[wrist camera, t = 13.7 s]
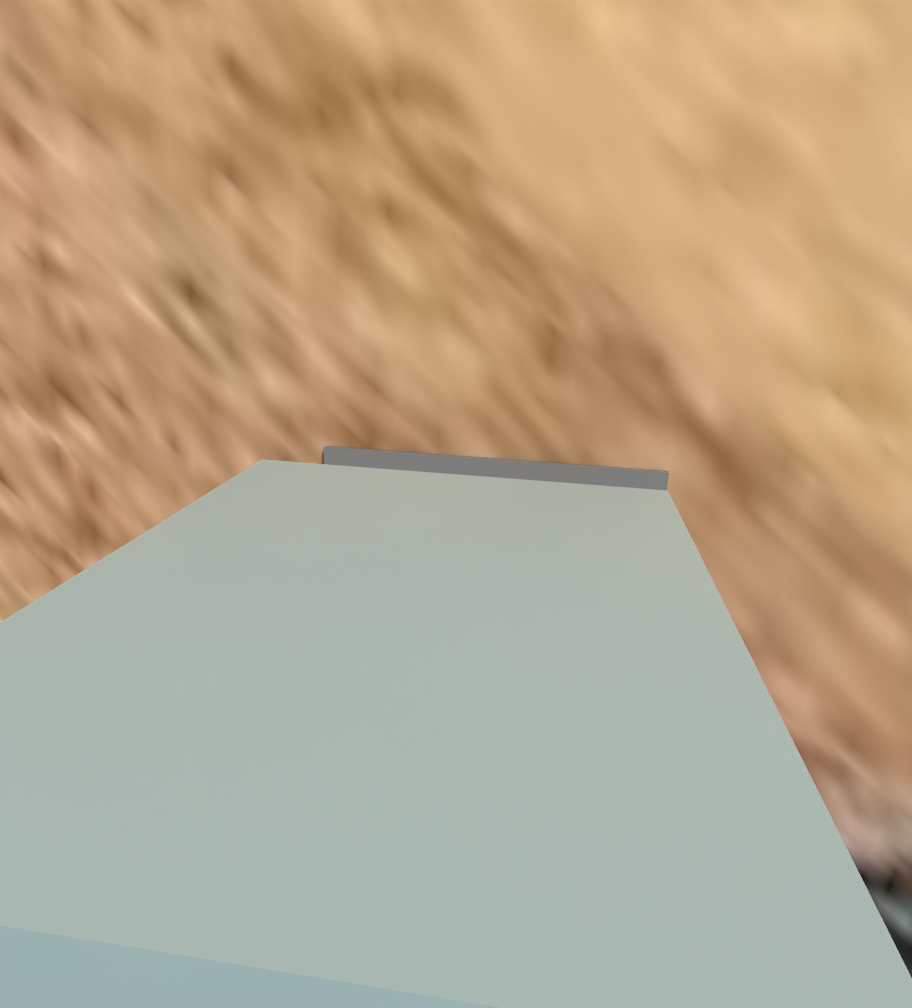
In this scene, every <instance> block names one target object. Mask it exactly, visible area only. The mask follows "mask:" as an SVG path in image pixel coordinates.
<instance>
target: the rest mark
mask: <svg viewBox="0 0 912 1008" xmlns="http://www.w3.org/2000/svg"><path fill="white" fill-rule="evenodd" d="M324 464H328V465H341V466H354V467H367V468H380V469H393V470H406V471H419V472H432V473H446V474H459V475H472V476H485V477H498V478H511V479H524V480H537V481H550V482H563V483H576V484H589V485H602V486H616V487H629V488H642V489H655V490H667V482H668V475H669V473H668V471H659V470H645V469H631V468H618V467H604V466H591V465H577V464H564V463H550V462H536V461H523V460H509V459H496V458H482V457H469V456H455V455H442V454H428V453H414V452H401V451H387V450H374V449H360V448H347V447H333V446H325V447H324Z"/></svg>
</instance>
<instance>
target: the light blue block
mask: <svg viewBox="0 0 912 1008" xmlns="http://www.w3.org/2000/svg"><path fill="white" fill-rule="evenodd" d="M0 1008H912V978H911V976H910V974H909V972H908V970H907V968H906V966H905V964H904V962H903V960H902V958H901V956H900V954H899V952H898V950H897V948H896V946H895V944H894V942H893V940H892V938H891V936H890V934H889V932H888V930H887V928H886V926H885V924H884V922H883V920H882V918H881V916H880V914H879V912H878V910H877V908H876V906H875V904H874V902H873V900H872V898H871V896H870V894H869V892H868V890H867V888H866V886H865V884H864V882H863V880H862V878H861V876H860V874H859V872H858V870H857V868H856V866H855V864H854V862H853V860H852V858H851V856H850V854H849V852H848V850H847V848H846V846H845V844H844V842H843V840H842V838H841V836H840V834H839V832H838V830H837V828H836V826H835V824H834V822H833V820H832V818H831V816H830V814H829V812H828V810H827V808H826V806H825V804H824V802H823V800H822V798H821V796H820V794H819V792H818V790H817V788H816V786H815V784H814V782H813V780H812V778H811V776H810V774H809V772H808V770H807V768H806V766H805V764H804V762H803V760H802V758H801V756H800V754H799V752H798V750H797V748H796V746H795V744H794V742H793V740H792V738H791V736H790V734H789V732H788V730H787V728H786V726H785V724H784V722H783V720H782V718H781V716H780V714H779V712H778V710H777V708H776V706H775V704H774V702H773V700H772V698H771V696H770V694H769V692H768V690H767V688H766V686H765V684H764V682H763V680H762V678H761V676H760V674H759V672H758V670H757V668H756V666H755V664H754V662H753V660H752V658H751V656H750V654H749V652H748V650H747V648H746V646H745V644H744V642H743V640H742V638H741V636H740V634H739V632H738V630H737V628H736V626H735V624H734V622H733V620H732V618H731V616H730V614H729V612H728V610H727V608H726V606H725V604H724V602H723V600H722V598H721V596H720V594H719V592H718V590H717V588H716V586H715V584H714V582H713V580H712V578H711V576H710V574H709V572H708V570H707V568H706V566H705V564H704V562H703V560H702V558H701V556H700V554H699V552H698V550H697V548H696V546H695V544H694V542H693V540H692V538H691V536H690V534H689V532H688V530H687V528H686V526H685V524H684V522H683V520H682V518H681V516H680V514H679V512H678V510H677V508H676V506H675V504H674V502H673V500H672V498H671V496H670V494H669V492H668V490H655V489H642V488H629V487H616V486H602V485H589V484H576V483H563V482H550V481H537V480H524V479H511V478H498V477H485V476H472V475H459V474H446V473H432V472H419V471H406V470H393V469H380V468H367V467H354V466H341V465H328V464H315V463H302V462H289V461H276V460H263V459H262V460H260V461H259V462H257V463H255V464H254V465H252V466H251V467H249V468H247V469H246V470H244V471H242V472H241V473H239V474H238V475H236V476H234V477H233V478H231V479H230V480H228V481H226V482H225V483H223V484H222V485H220V486H218V487H217V488H215V489H214V490H212V491H210V492H209V493H207V494H206V495H204V496H202V497H201V498H199V499H197V500H196V501H194V502H193V503H191V504H189V505H188V506H186V507H185V508H183V509H181V510H180V511H178V512H177V513H175V514H173V515H172V516H170V517H169V518H167V519H165V520H164V521H162V522H161V523H159V524H157V525H156V526H154V527H152V528H151V529H149V530H148V531H146V532H144V533H143V534H141V535H140V536H138V537H136V538H135V539H133V540H132V541H130V542H128V543H127V544H125V545H124V546H122V547H120V548H119V549H117V550H116V551H114V552H112V553H111V554H109V555H107V556H106V557H104V558H103V559H101V560H99V561H98V562H96V563H95V564H93V565H91V566H90V567H88V568H87V569H85V570H83V571H82V572H80V573H79V574H77V575H75V576H74V577H72V578H71V579H69V580H67V581H66V582H64V583H62V584H61V585H59V586H58V587H56V588H54V589H53V590H51V591H50V592H48V593H46V594H45V595H43V596H42V597H40V598H38V599H37V600H35V601H34V602H32V603H30V604H29V605H27V606H26V607H24V608H22V609H21V610H19V611H17V612H16V613H14V614H13V615H11V616H9V617H8V618H6V619H5V620H3V621H1V622H0Z"/></svg>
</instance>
